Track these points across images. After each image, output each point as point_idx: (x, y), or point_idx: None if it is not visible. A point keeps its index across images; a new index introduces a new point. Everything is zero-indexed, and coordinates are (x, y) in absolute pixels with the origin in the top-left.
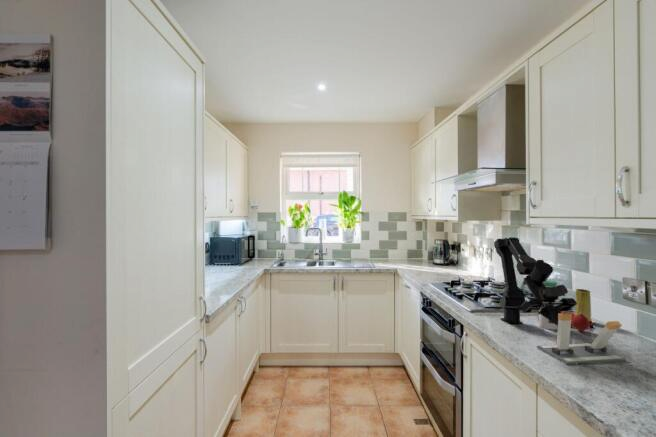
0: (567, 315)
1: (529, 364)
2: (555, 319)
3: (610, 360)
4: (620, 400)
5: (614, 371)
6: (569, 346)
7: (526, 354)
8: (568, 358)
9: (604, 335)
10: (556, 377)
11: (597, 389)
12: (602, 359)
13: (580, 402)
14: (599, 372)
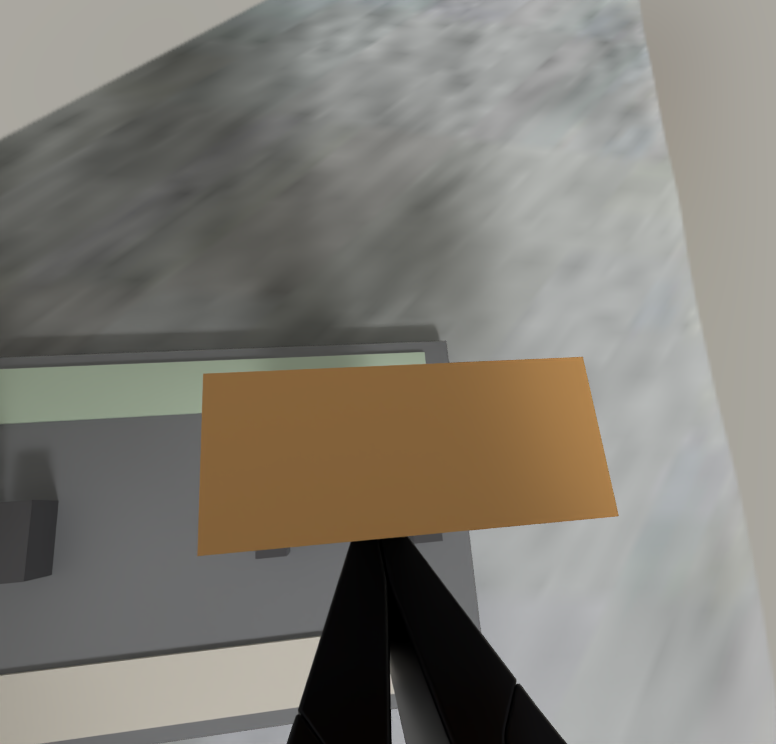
0: (380, 375)
1: (700, 374)
2: (482, 656)
3: (21, 358)
4: (442, 9)
5: (164, 236)
6: (145, 666)
7: (646, 539)
8: None
9: None
10: (618, 213)
11: (476, 90)
12: (89, 366)
13: (639, 27)
14: (291, 235)
